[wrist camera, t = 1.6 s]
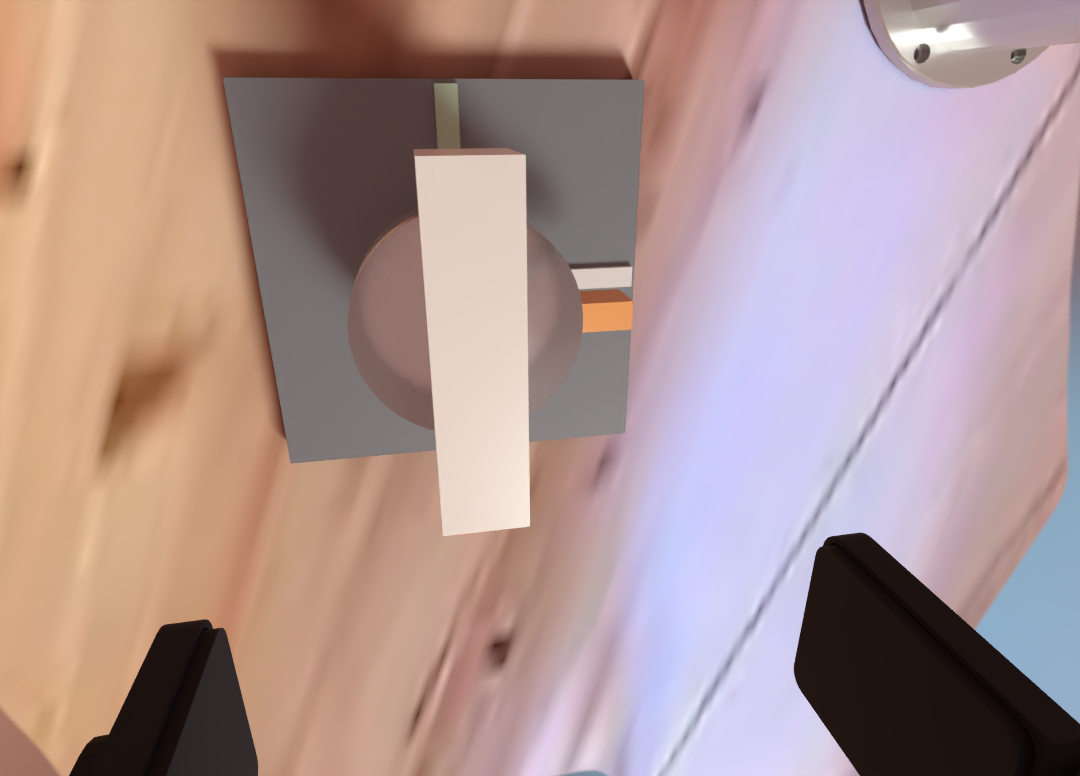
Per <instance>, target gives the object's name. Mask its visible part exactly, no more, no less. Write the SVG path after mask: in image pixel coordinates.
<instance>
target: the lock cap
mask: <svg viewBox="0 0 1080 776" xmlns="http://www.w3.org/2000/svg"><path fill="white" fill-rule="evenodd" d="M413 150H414V164H415V177H416V190H417V204H418V207H417V208H414V209H413V210H411V211H409V212H407V213H405V214H403V215H402V216H400V217H399V218H397V219H396V220H395V221H393V222H392V223H391V224H389V225H388V226H387V227H386V228H385V229H384V230H383V231H382V232H381V233H380V234H379V235H378V237H377V238H376V239H375V241H374V242H373V243H372V245H371V246H370V248H369V249H368V251H367V253H366V255H365V257H364V258H363V261H362V263H361V266H360V268H359V271H358V274H357V277H356V280H355V283H354V287H353V290H352V294H351V298H350V302H349V308H348V319H347V324H348V338H349V343H350V348H351V352H352V355H353V358H354V361H355V364H356V366H357V368H358V370H359V372H360V374H361V376H362V378H363V380H364V381H365V382H366V384H367V385H368V387H369V388H370V390H371V391H372V392H373V393H374V394H375V395H376V396H377V398H378V399H379V400H380V401H381V402H382V403H383V404H385V405H386V406H387V407H388V408H389V409H391V410H392V411H393V412H395V413H396V414H398V415H399V416H401V417H402V418H404V419H406V420H408V421H410V422H412V423H414V424H416V425H418V426H421V427H424V428H427V429H430V430H434V431H435V443H436V456H437V470H438V483H439V495H440V506H441V518H442V530H443V536H449V535H458V534H467V533H476V532H485V531H493V530H502V529H511V528H520V527H528V526H530V490H529V415H530V414H532V413H533V412H535V411H536V410H537V409H539V408H540V407H541V406H542V405H544V404H545V403H546V402H547V401H548V400H549V399H550V398H551V397H552V396H553V395H554V394H555V393H556V391H557V390H558V389H559V388H560V387H561V385H562V384H563V382H564V381H565V379H566V378H567V376H568V374H569V372H570V370H571V369H572V367H573V365H574V362H575V360H576V357H577V354H578V351H579V348H580V343H581V339H582V333H585V332H601V331H617V330H632V317H633V300H631V299H630V298H629V297H628V296H626V295H625V294H624V293H623V292H622V291H620V290H619V289H610V290H591V291H579V289H578V286H577V282H576V279H575V277H574V275H573V273H572V271H571V269H570V267H569V265H568V264H567V262H566V261H565V259H564V258H563V256H562V255H561V253H560V252H559V251H558V250H557V249H556V248H555V246H554V245H553V244H552V243H551V242H550V241H549V240H548V239H547V238H545V237H544V236H543V235H542V234H541V233H540V232H539V231H538V230H537V229H535V228H534V227H533V226H532V225H531V224H530V223H528V222H527V221H526V154H523V153H520V152H517V151H514V150H511V149H508V148H468V149H413Z"/></svg>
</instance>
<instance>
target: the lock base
mask: <svg viewBox="0 0 1080 776" xmlns="http://www.w3.org/2000/svg"><path fill="white" fill-rule="evenodd" d="M223 82H224V88H225V94H226V99H227V105H228V111H229V116H230V122H231V128H232V133H233V139H234V145H235V150H236V156H237V162H238V167H239V173H240V179H241V184H242V190H243V196H244V201H245V207H246V213H247V218H248V224H249V230H250V235H251V241H252V247H253V252H254V258H255V264H256V269H257V275H258V281H259V286H260V292H261V298H262V303H263V309H264V315H265V320H266V326H267V332H268V337H269V343H270V349H271V354H272V360H273V366H274V371H275V377H276V383H277V388H278V394H279V400H280V405H281V411H282V417H283V422H284V428H285V434H286V439H287V445H288V451H289V456H290V462H291V463H301V462H312V461H323V460H334V459H345V458H356V457H367V456H378V455H389V454H400V453H411V452H422V451H433V450H436V443H435V431H434V430H430V429H427V428H424V427H421V426H418V425H416V424H414V423H412V422H410V421H408V420H406V419H404V418H402V417H401V416H399V415H398V414H396V413H395V412H393V411H392V410H391V409H389V408H388V407H387V406H386V405H385V404H383V403H382V402H381V401H380V400H379V399H378V398H377V396H376V395H375V394H374V393H373V392H372V391H371V390H370V388H369V387H368V385H367V384H366V382H365V381H364V380H363V378H362V376H361V374H360V372H359V370H358V368H357V366H356V364H355V361H354V358H353V355H352V352H351V348H350V343H349V338H348V324H347V319H348V308H349V302H350V298H351V294H352V290H353V287H354V283H355V280H356V277H357V274H358V271H359V268H360V266H361V263H362V261H363V258H364V257H365V255H366V253H367V251H368V249H369V248H370V246H371V245H372V243H373V242H374V241H375V239H376V238H377V237H378V235H379V234H380V233H381V232H382V231H383V230H384V229H385V228H386V227H387V226H388V225H389V224H391V223H392V222H393V221H395V220H396V219H397V218H399V217H400V216H402V215H403V214H405V213H407V212H409V211H411V210H413V209H414V208H417V207H418V204H417V190H416V177H415V164H414V150H413V149H468V148H508V149H511V150H514V151H517V152H520V153H523V154H526V221H527V222H528V223H530V224H531V225H532V226H533V227H534V228H535V229H537V230H538V231H539V232H540V233H541V234H542V235H543V236H544V237H545V238H547V239H548V240H549V241H550V242H551V243H552V244H553V245H554V246H555V248H556V249H557V250H558V251H559V252H560V253H561V255H562V256H563V258H564V259H565V261H566V262H567V264H568V265H569V267H570V269H571V271H572V273H573V275H574V277H575V279H576V282H577V286H578V289H579V291H591V290H610V289H619V290H620V291H622V292H623V293H624V294H625V295H626V296H628V297H629V298H630V299H631V300H632V298H633V280H634V261H635V243H636V224H637V206H638V187H639V169H640V150H641V132H642V113H643V95H644V80H608V79H428V78H248V77H223ZM630 335H631V330H617V331H601V332H585V333H582V339H581V343H580V348H579V351H578V354H577V357H576V360H575V362H574V365H573V367H572V369H571V370H570V372H569V374H568V376H567V378H566V379H565V381H564V382H563V384H562V385H561V387H560V388H559V389H558V390H557V391H556V393H555V394H554V395H553V396H552V397H551V398H550V399H549V400H548V401H547V402H546V403H545V404H544V405H542V406H541V407H540V408H539V409H537V410H536V411H535V412H533V413H532V414H530V415H529V442H532V441H543V440H554V439H565V438H576V437H587V436H598V435H609V434H620V433H625V428H626V409H627V391H628V372H629V354H630Z"/></svg>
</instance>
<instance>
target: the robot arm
mask: <svg viewBox="0 0 1080 776" xmlns="http://www.w3.org/2000/svg"><path fill="white" fill-rule="evenodd" d="M864 6H865V9H866V13H867V16H868V20H869V24H870V27H871V30H872V32H873V34H874V36H875V38H876V40H877V42H878V44H879V46H880V48H881V50H882V51H883V52H884V54H885V55H886V56H887V57H888V59H889V60H890V61H891V62H892V63H893V65H894V66H895V67H896V68H897V69H899V70H900V71H901V72H903V73H904V74H905V75H907V76H908V77H909V78H911V79H913V80H915V81H918V82H920V83H923V84H925V85H928V86H930V87H938V88H946V89H956V88H973V87H978V86H982V85H987V84H991V83H994V82H997V81H999V80H1001V79H1003V78H1005V77H1008V76H1010V75H1012V74H1014V73H1016V72H1017V71H1019V70H1020V69H1022V68H1023V67H1025V66H1026V65H1028V64H1029V63H1031V62H1032V61H1033V60H1035V59H1036V58H1037V57H1038V56H1039V55H1040V54H1041V53H1042V52H1044V51H1045V50H1046V49H1047V48H1048V47H1049V46H1051V45H1060V44H1069V43H1079V42H1080V0H864ZM794 675H795V679H796V682H797V684H798V687H799V688H800V690H801V692H802V693H803V695H804V696H805V697H806V699H807V700H808V702H809V703H810V705H811V706H812V707H813V709H814V710H815V712H816V713H817V715H818V716H819V718H820V719H821V720H822V722H823V723H824V725H825V726H826V728H827V729H828V730H829V732H830V733H831V735H832V736H833V738H834V739H835V740H836V742H837V743H838V745H839V746H840V748H841V749H842V751H843V752H844V753H845V755H846V756H847V758H848V759H849V761H850V762H851V763H852V765H853V766H854V768H855V769H856V771H857V772H858V773H859V775H860V776H1080V724H1079V723H1078V722H1077V721H1076V720H1075V719H1074V718H1072V717H1071V716H1070V715H1069V714H1068V713H1067V712H1066V711H1065V710H1063V709H1062V708H1061V707H1060V706H1059V705H1058V704H1057V703H1056V702H1055V701H1053V700H1052V699H1051V698H1050V697H1049V696H1048V695H1047V694H1046V693H1044V692H1043V691H1042V690H1041V689H1040V688H1039V687H1038V686H1036V684H1034V683H1033V682H1032V681H1031V680H1030V679H1029V678H1028V677H1027V676H1025V675H1024V674H1023V673H1022V672H1021V671H1020V670H1019V669H1018V668H1016V667H1015V666H1014V665H1013V664H1012V663H1010V661H1009V660H1008V659H1006V658H1005V657H1004V656H1003V655H1002V654H1001V653H1000V652H999V651H997V650H996V649H995V648H994V647H993V646H992V645H991V644H989V643H988V642H987V641H986V640H985V639H984V638H983V637H982V636H981V635H979V634H978V633H977V632H976V631H975V630H974V629H973V628H972V627H971V626H970V625H968V624H967V623H966V622H965V621H964V620H963V619H962V618H961V617H959V616H958V615H957V614H956V613H955V612H954V611H953V610H952V609H950V608H949V607H948V606H947V605H946V604H945V603H944V602H943V601H942V600H940V599H939V598H938V597H937V596H936V595H935V594H934V593H933V592H931V591H930V590H929V589H928V588H927V587H926V586H925V585H924V584H923V583H921V582H920V581H919V580H918V579H917V578H916V577H915V576H914V575H912V574H911V573H910V572H909V571H908V570H907V569H906V568H905V567H904V566H902V565H901V564H900V563H899V562H898V561H897V560H896V559H895V558H893V557H892V556H891V555H890V554H889V553H888V552H887V551H886V550H884V549H883V548H882V547H881V546H880V545H879V544H878V543H877V542H876V541H874V540H873V539H872V538H871V537H870V536H868V535H867V534H864V533H854V534H846V535H839V536H832V537H829V538H827V539H826V540H825V542H824V545H823V547H820V548H819V549H818V550H817V552H816V556H815V561H814V566H813V571H812V576H811V582H810V587H809V592H808V597H807V602H806V607H805V612H804V617H803V622H802V627H801V632H800V638H799V643H798V648H797V653H796V658H795V663H794ZM69 776H258V761H257V755H256V751H255V747H254V743H253V739H252V735H251V731H250V727H249V723H248V719H247V715H246V711H245V707H244V703H243V699H242V695H241V690H240V686H239V682H238V678H237V674H236V670H235V666H234V662H233V658H232V654H231V650H230V646H229V642H228V638H227V634H226V631H225V630H224V629H223V628H217V629H213V627H212V625H211V623H210V622H209V620H197V621H190V622H182V623H175V624H167V625H164V626H162V627H161V628H160V629H159V631H158V633H157V634H156V637H155V639H154V641H153V643H152V645H151V647H150V649H149V651H148V653H147V656H146V658H145V660H144V662H143V664H142V666H141V668H140V670H139V672H138V675H137V677H136V679H135V681H134V683H133V685H132V687H131V689H130V691H129V694H128V696H127V698H126V700H125V702H124V704H123V706H122V708H121V710H120V713H119V715H118V717H117V719H116V721H115V723H114V725H113V727H112V729H111V732H110V734H109V735H103V736H98V737H94V738H93V739H92V740H91V741H90V742H89V743H88V744H87V745H86V746H85V748H84V749H83V751H82V752H81V754H80V756H79V757H78V759H77V761H76V763H75V765H74V767H73V769H72V771H71V773H70V775H69Z"/></svg>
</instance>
